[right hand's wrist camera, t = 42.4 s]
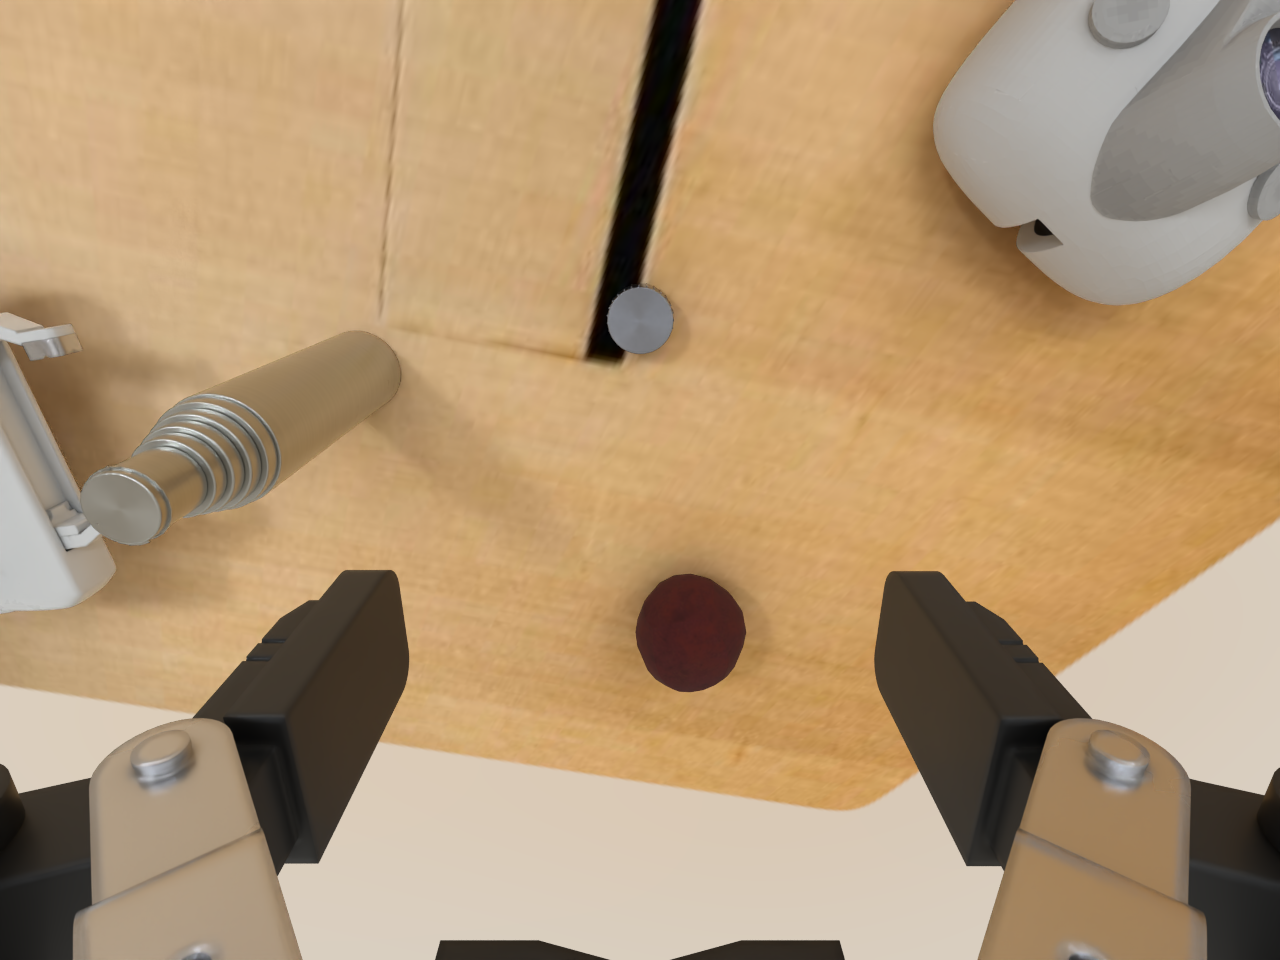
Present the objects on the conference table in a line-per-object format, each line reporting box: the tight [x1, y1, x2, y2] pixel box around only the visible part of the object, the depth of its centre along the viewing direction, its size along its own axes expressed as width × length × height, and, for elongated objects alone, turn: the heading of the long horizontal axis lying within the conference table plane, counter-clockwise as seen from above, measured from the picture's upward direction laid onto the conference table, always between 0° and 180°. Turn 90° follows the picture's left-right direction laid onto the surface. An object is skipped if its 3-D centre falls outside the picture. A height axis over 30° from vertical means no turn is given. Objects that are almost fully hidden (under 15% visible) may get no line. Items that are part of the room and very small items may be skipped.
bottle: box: [80, 331, 401, 545], centre depth 34 cm, size 5×5×22 cm
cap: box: [607, 283, 674, 354], centre depth 42 cm, size 4×4×2 cm
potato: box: [636, 574, 746, 692], centre depth 47 cm, size 7×8×7 cm
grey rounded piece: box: [933, 0, 1280, 305], centre depth 31 cm, size 22×23×15 cm
